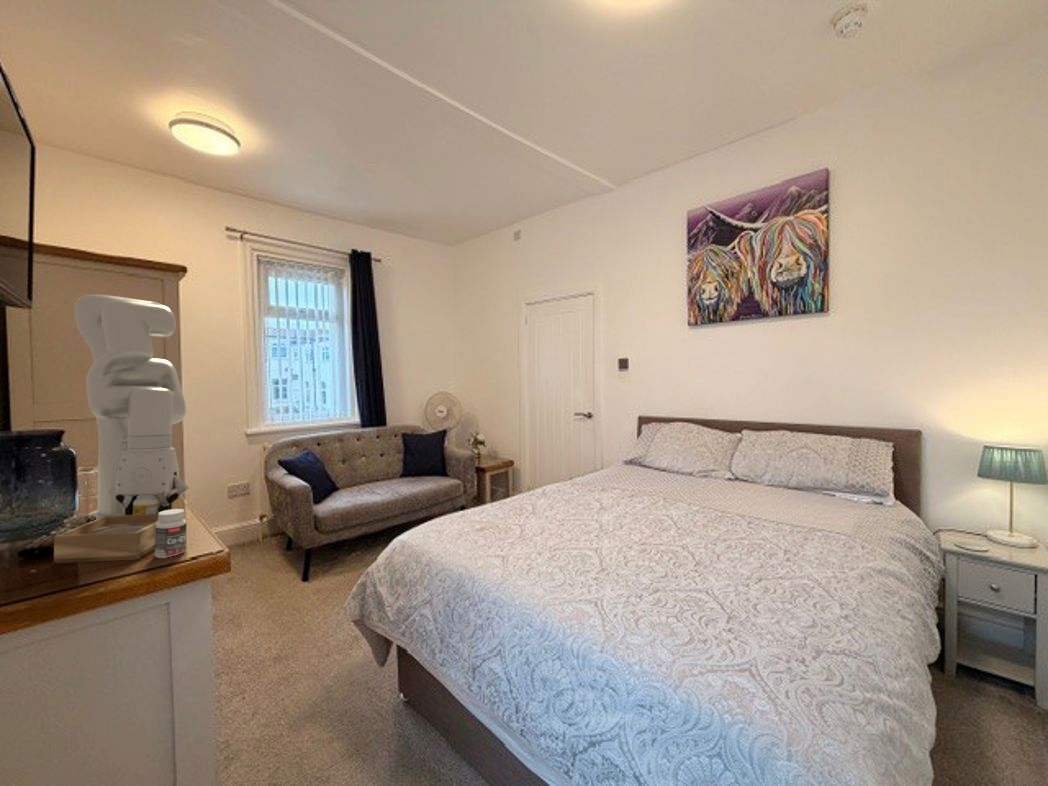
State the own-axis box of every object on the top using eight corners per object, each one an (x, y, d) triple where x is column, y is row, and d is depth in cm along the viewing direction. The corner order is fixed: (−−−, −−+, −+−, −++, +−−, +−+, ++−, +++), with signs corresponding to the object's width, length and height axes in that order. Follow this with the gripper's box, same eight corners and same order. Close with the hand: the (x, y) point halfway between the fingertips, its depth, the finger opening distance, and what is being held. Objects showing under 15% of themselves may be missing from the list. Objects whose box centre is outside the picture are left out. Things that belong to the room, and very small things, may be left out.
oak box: (104, 539, 92) (105, 515, 92) (175, 536, 95) (176, 513, 95) (53, 563, 79) (54, 536, 79) (137, 559, 82) (137, 533, 82)
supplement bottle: (167, 530, 98) (168, 488, 98) (136, 536, 94) (137, 492, 94) (158, 525, 101) (159, 484, 101) (128, 531, 97) (129, 488, 97)
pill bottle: (168, 560, 82) (169, 516, 82) (148, 557, 83) (149, 514, 83) (192, 551, 87) (192, 509, 87) (172, 548, 88) (173, 507, 88)
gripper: (92, 444, 92) (90, 530, 92) (185, 444, 96) (183, 526, 96) (116, 440, 99) (115, 519, 99) (202, 440, 103) (200, 516, 103)
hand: (148, 522), depth 98 cm, fingers closed on supplement bottle, 5 cm apart
